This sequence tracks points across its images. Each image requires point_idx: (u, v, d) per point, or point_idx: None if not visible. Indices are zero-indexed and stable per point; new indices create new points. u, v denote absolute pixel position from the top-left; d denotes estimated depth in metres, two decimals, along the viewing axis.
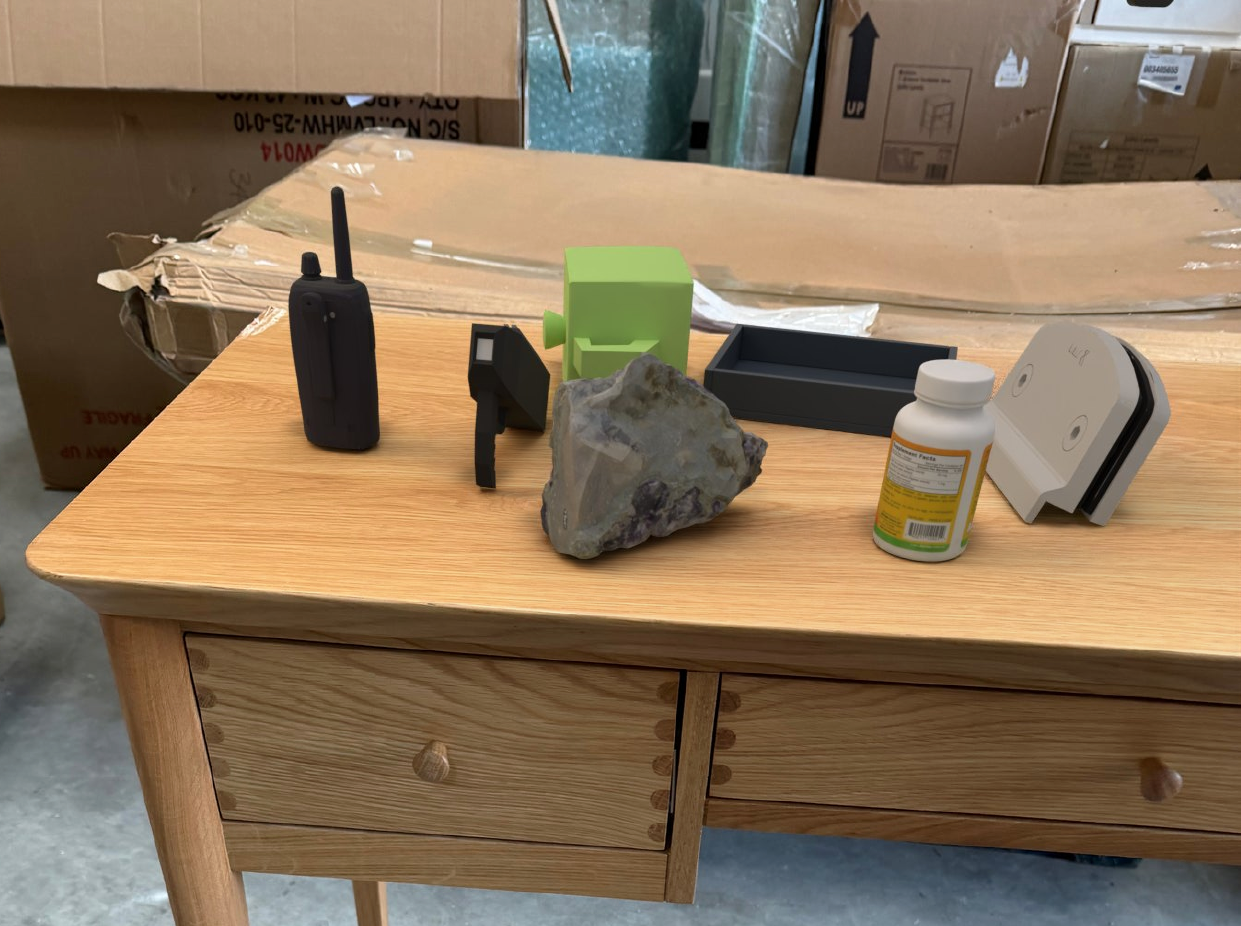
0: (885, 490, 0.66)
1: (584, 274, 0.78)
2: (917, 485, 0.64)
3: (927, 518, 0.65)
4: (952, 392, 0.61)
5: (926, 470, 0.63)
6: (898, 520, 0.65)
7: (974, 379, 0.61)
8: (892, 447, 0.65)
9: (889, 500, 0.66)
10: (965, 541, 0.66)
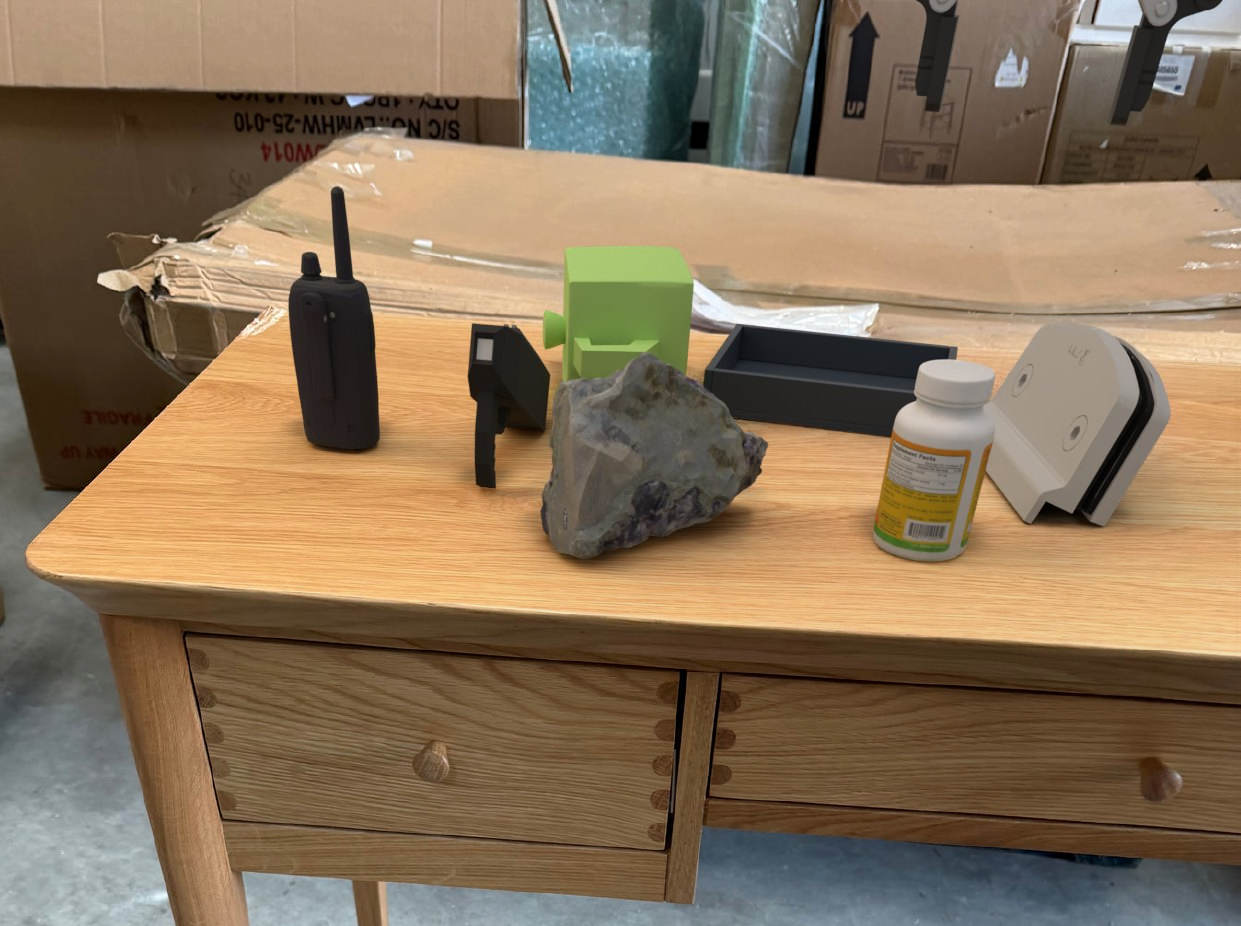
0: (885, 490, 0.66)
1: (584, 274, 0.78)
2: (917, 485, 0.64)
3: (927, 518, 0.65)
4: (952, 393, 0.61)
5: (926, 470, 0.63)
6: (898, 520, 0.65)
7: (974, 379, 0.61)
8: (892, 447, 0.65)
9: (889, 500, 0.66)
10: (965, 541, 0.66)
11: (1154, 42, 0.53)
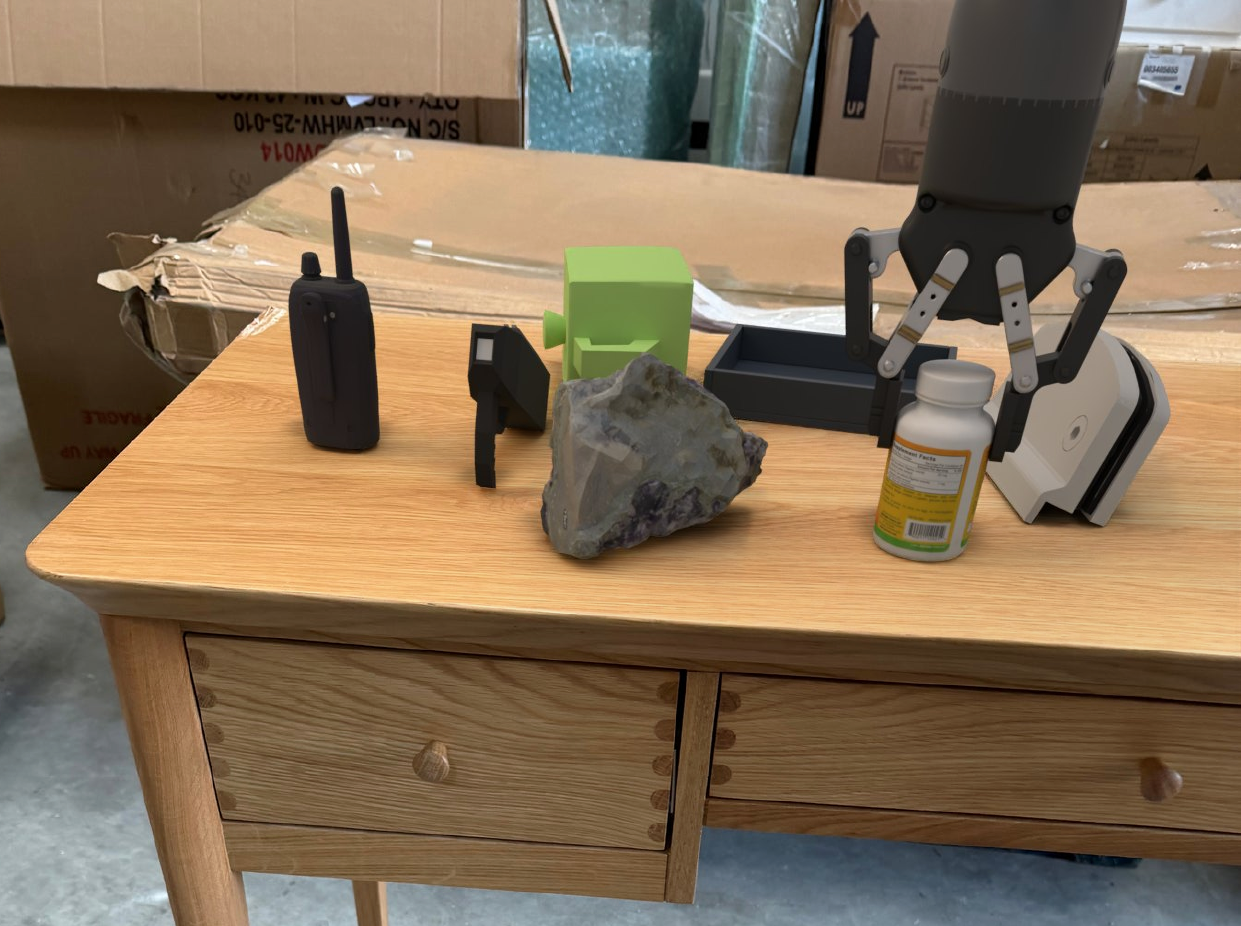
0: (885, 490, 0.66)
1: (584, 274, 0.78)
2: (917, 485, 0.64)
3: (927, 518, 0.65)
4: (952, 392, 0.61)
5: (926, 470, 0.63)
6: (898, 520, 0.65)
7: (974, 379, 0.61)
8: (892, 447, 0.65)
9: (889, 500, 0.66)
10: (965, 541, 0.66)
11: (1022, 402, 0.62)
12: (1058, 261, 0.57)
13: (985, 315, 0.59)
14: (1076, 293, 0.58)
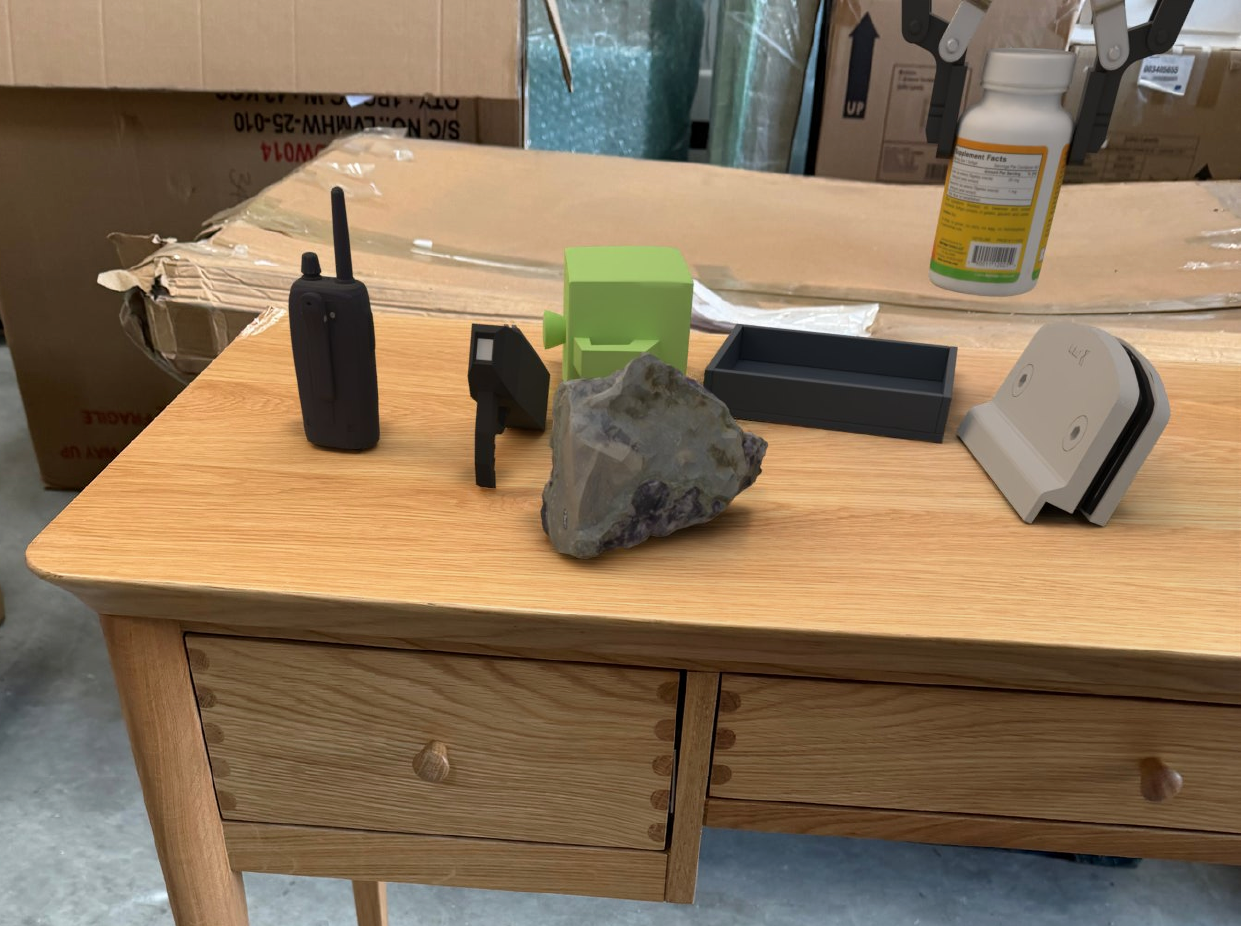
0: (944, 212, 0.57)
1: (584, 274, 0.78)
2: (984, 196, 0.55)
3: (995, 238, 0.56)
4: (1027, 72, 0.52)
5: (994, 175, 0.54)
6: (960, 245, 0.57)
7: (1053, 54, 0.52)
8: (954, 156, 0.56)
9: (950, 223, 0.57)
10: (1037, 273, 0.58)
11: (1108, 85, 0.53)
12: None
13: None
14: None
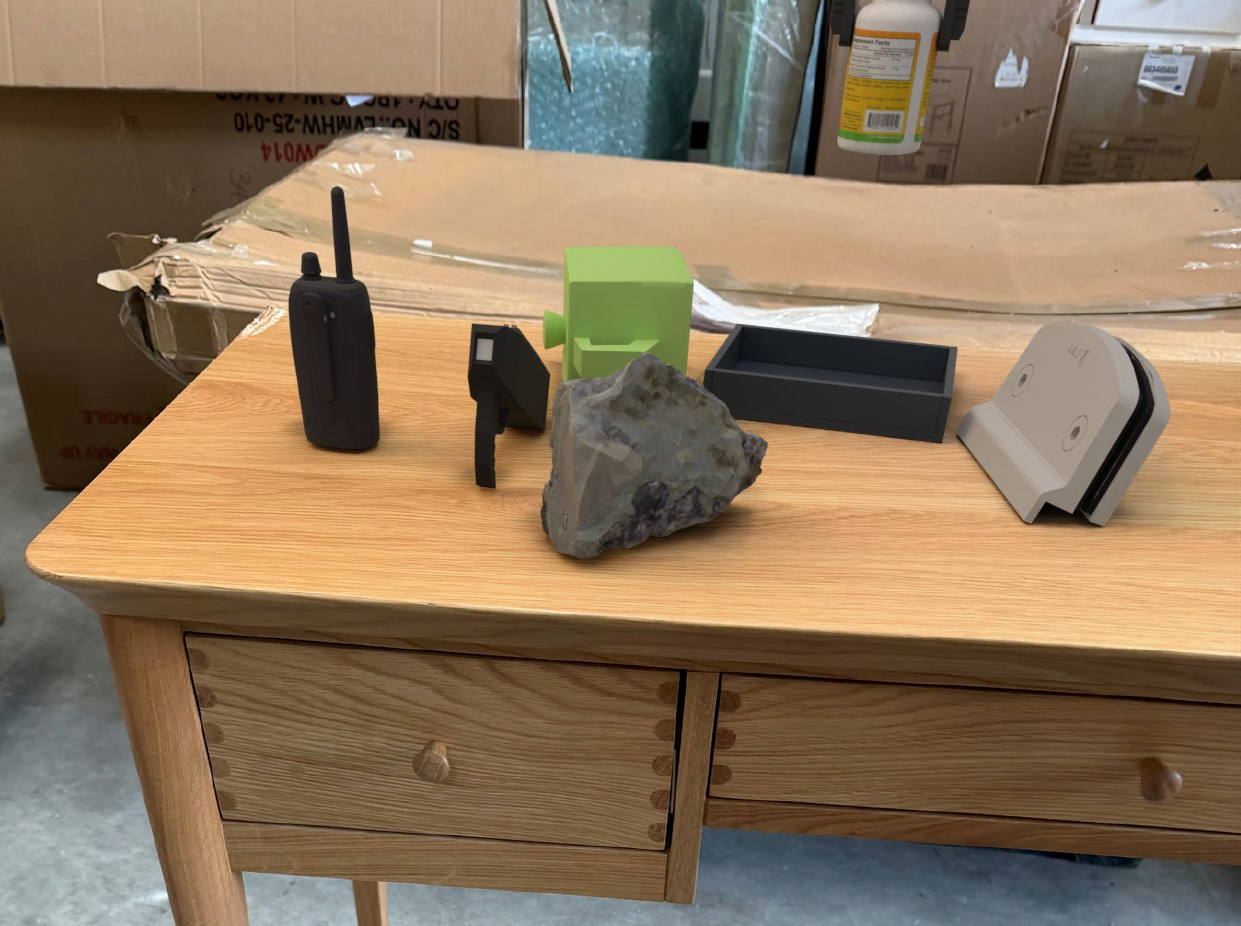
0: (847, 89, 0.74)
1: (584, 274, 0.78)
2: (874, 73, 0.72)
3: (883, 106, 0.73)
4: None
5: (881, 56, 0.72)
6: (858, 113, 0.74)
7: None
8: (852, 43, 0.73)
9: (850, 96, 0.74)
10: (918, 137, 0.75)
11: None
12: None
13: None
14: None
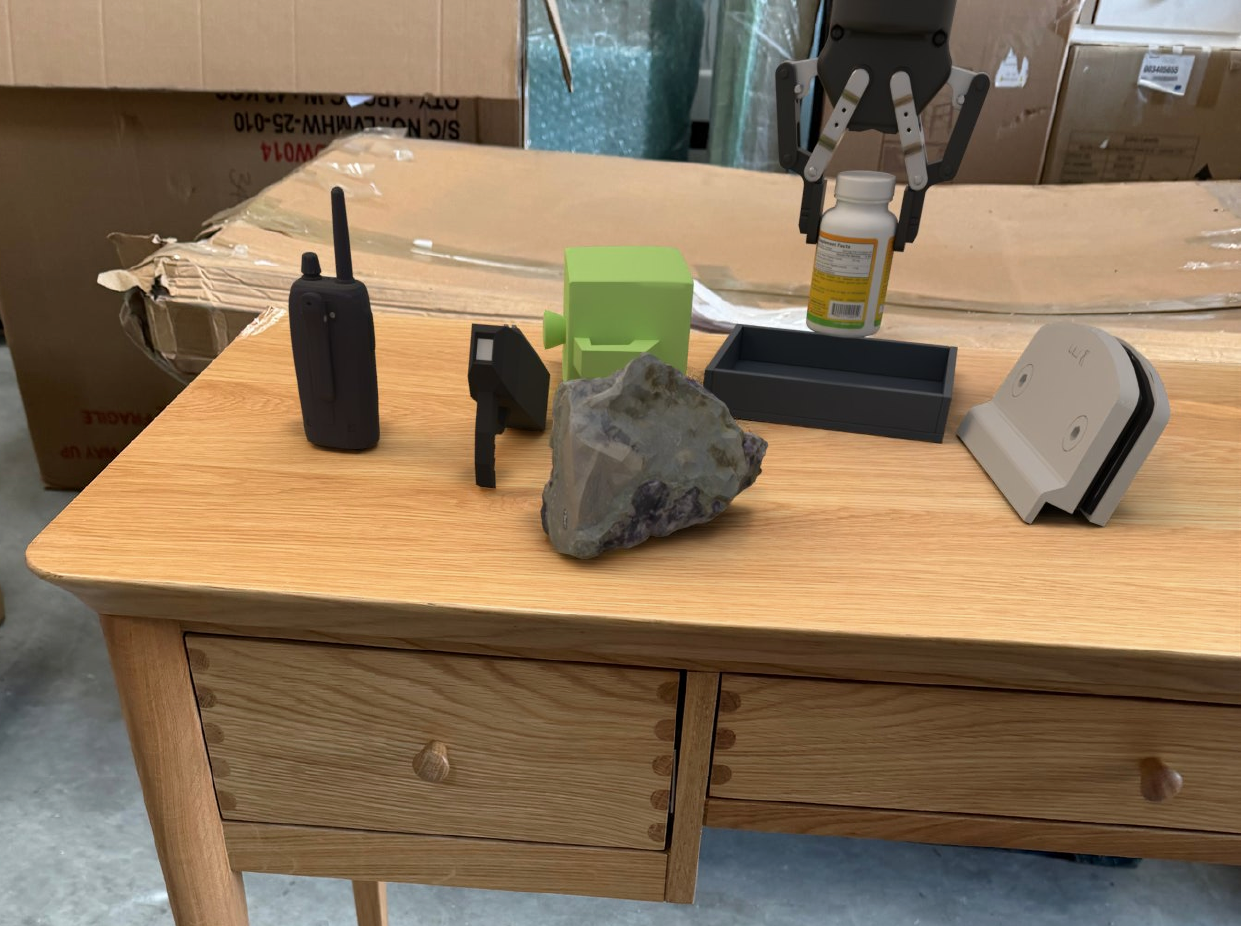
0: (813, 280, 0.83)
1: (584, 274, 0.78)
2: (837, 270, 0.81)
3: (845, 298, 0.82)
4: (861, 190, 0.78)
5: (843, 257, 0.80)
6: (823, 302, 0.82)
7: (878, 179, 0.78)
8: (818, 242, 0.81)
9: (816, 287, 0.83)
10: (878, 322, 0.83)
11: (916, 199, 0.79)
12: (938, 78, 0.74)
13: (885, 125, 0.76)
14: (954, 105, 0.75)
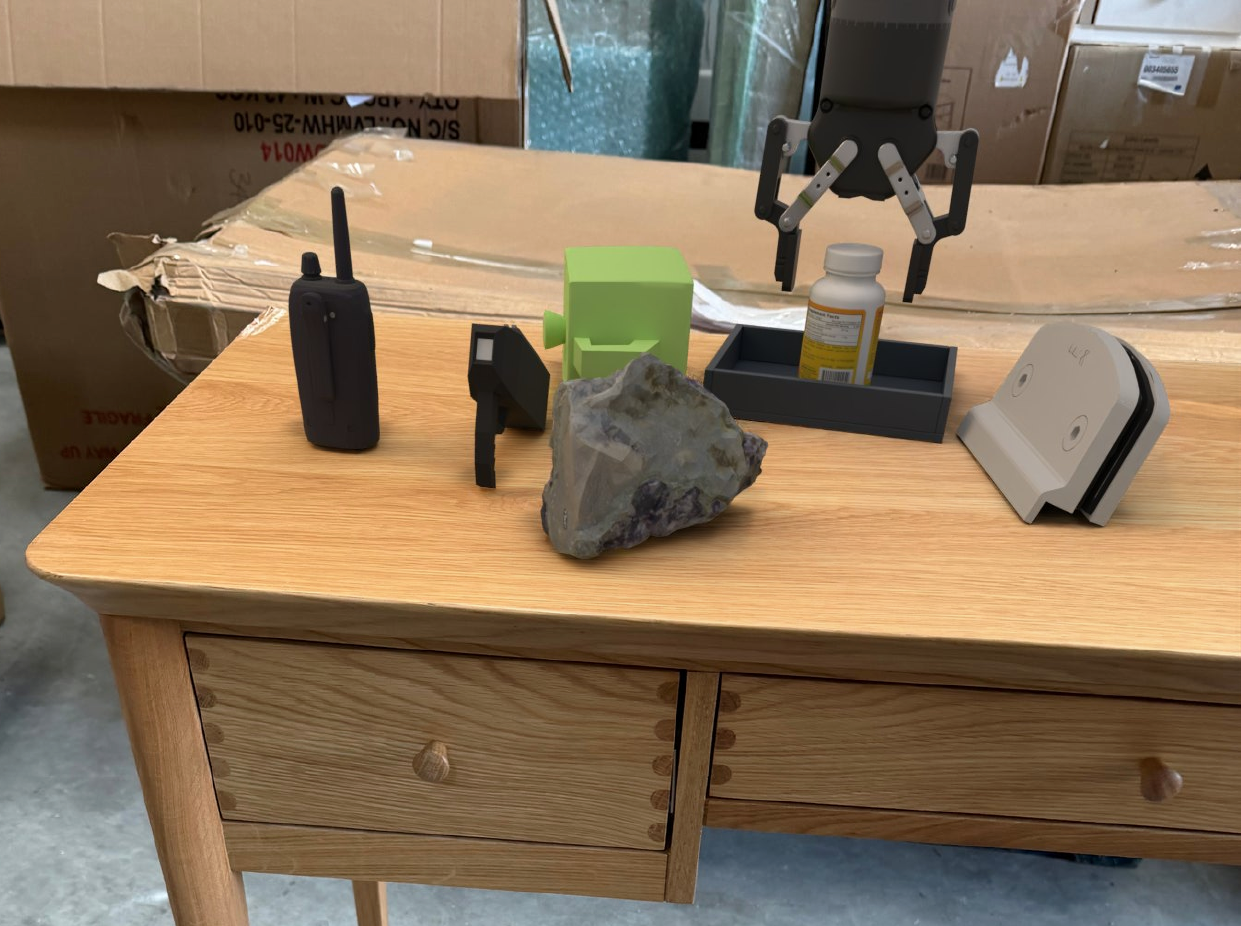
0: (804, 346, 0.86)
1: (584, 274, 0.78)
2: (826, 339, 0.84)
3: (835, 366, 0.84)
4: (849, 264, 0.81)
5: (832, 326, 0.83)
6: (814, 369, 0.85)
7: (866, 253, 0.81)
8: (808, 311, 0.84)
9: (807, 354, 0.85)
10: None
11: (925, 252, 0.80)
12: (924, 149, 0.76)
13: (873, 193, 0.79)
14: (947, 166, 0.77)
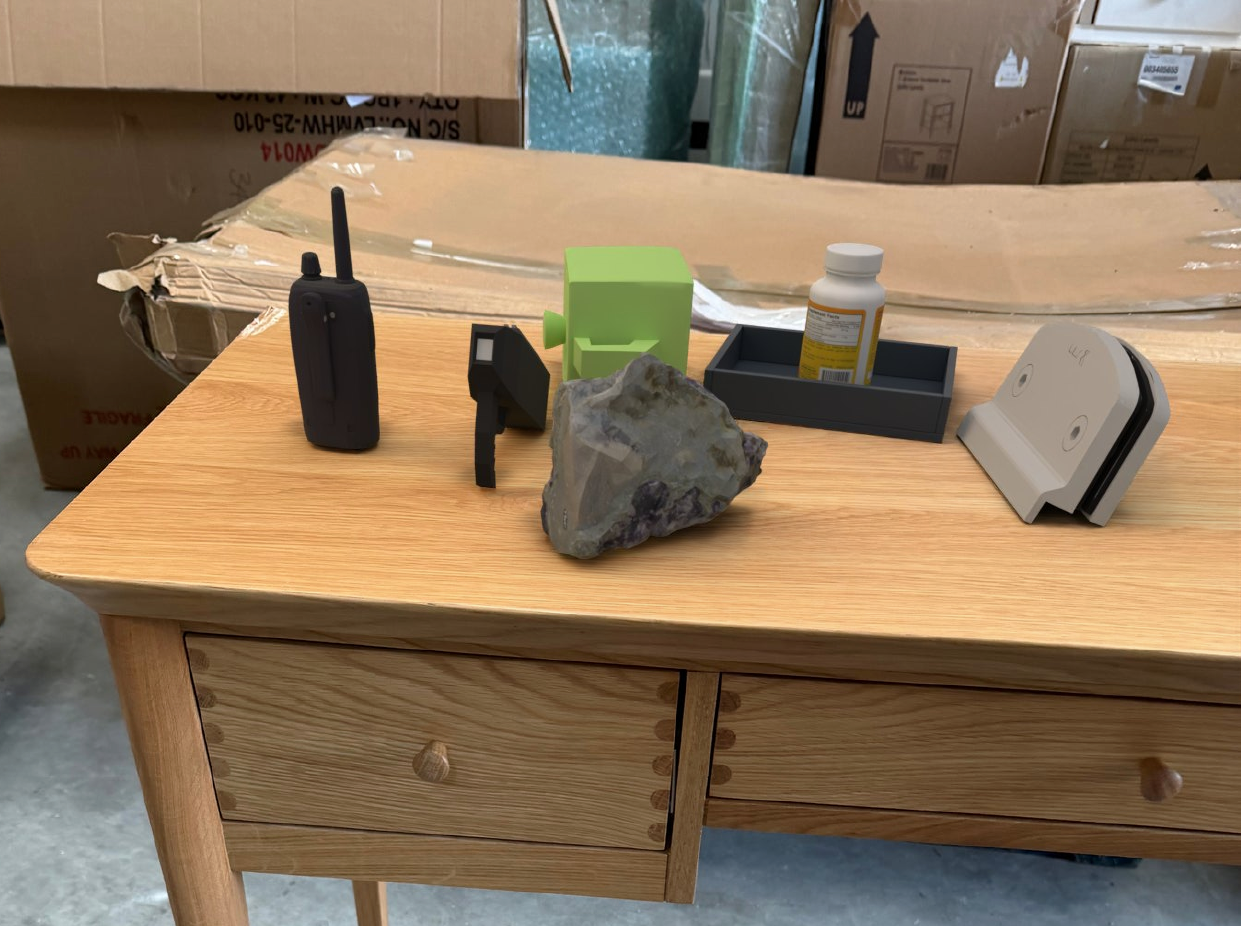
0: (804, 346, 0.86)
1: (584, 274, 0.78)
2: (826, 339, 0.84)
3: (835, 366, 0.84)
4: (849, 264, 0.81)
5: (832, 326, 0.83)
6: (814, 369, 0.85)
7: (866, 253, 0.81)
8: (808, 311, 0.84)
9: (807, 354, 0.85)
10: None
11: None
12: None
13: None
14: None
